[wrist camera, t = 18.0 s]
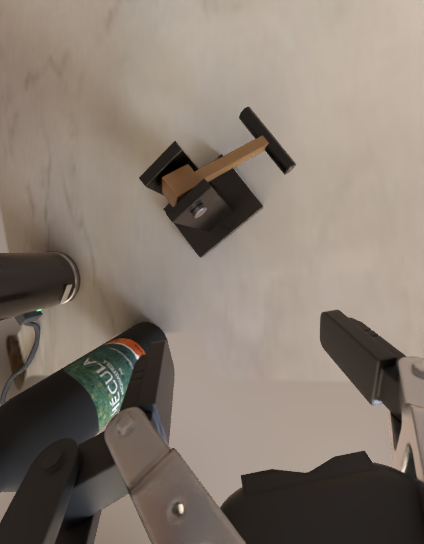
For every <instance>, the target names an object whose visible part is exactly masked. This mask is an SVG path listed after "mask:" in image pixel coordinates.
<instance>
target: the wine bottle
mask: <svg viewBox="0 0 424 544" xmlns="http://www.w3.org/2000/svg"><path fill="white" fill-rule="evenodd" d="M163 340H167V338H166V336H165V334H164V333H163V331H162V330H161V329H160V328H159V327H157V326H156V325H154V324H151V323H147V322H146V323H139V324H137V325H135V326H133V327H132V328H130V329H128V330H127V331H125V332H123V333H121V334H120V335H118V336H116V337H115V338H113V339H111V340H110V341H108V342H106V343H105V344H103V345H101V346H99V347H98V348H96V349H94V350H93V351H91V352H89V353H88V354H86V355H84V356H83V357H81V358H79V359H77V360H76V361H74V362H72V363H71V364H69V365H67V366H66V367H64V368H62V369H61V370H59V371H57V372H55V373H54V374H52V375H50V376H49V377H47V378H46V379H44V380H42V381H40V382H39V383H37V384H35V385H33V386H32V387H30V388H28V389H27V390H25V391H23V392H22V393H20V394H18V395H16V396H15V397H13V398H11V399H10V400H9V401H7V402H6V403H5V404H3V405H2V406H1V407H0V493H1V492H17V490H18V488H19V486H20V485H21V483H22V481H23V479H24V477H25V475H26V473H27V471H28V470H29V468H30V466H31V464H32V463H33V461H34V460H35V459H36V457H37V456H38V455H39V454H40V453H41V452H42V451H43V450H44V449H45V448H47V447H48V446H49V445H51V444H52V443H54V442H56V441H58V440H61V439H65V438H71V439H73V440H75V441H76V443H77V444H81V443H83V442H85V441H87V440H89V439H91V438H93V437H94V436H95V435H96V434H97V433H98V432H99V431H100V430H101V429H102V427H104V425H105V424H106V423H107V422H108V421H109V420H110V419H111V418H112V417H113V416H114V415H115V413H116V412H117V411H118V410H119V409H120V408H121V405H122V402H123V399H124V396H125V393H126V389H127V386H128V383H129V382H130V377H131V374H132V371H133V367H134V364H135V362H136V361H137V360H138V359H139V357H140V356H141V355H144V354H148V353H149V349H150V345H151V343H152V342H157V341H163ZM167 342H168V341H167Z"/></svg>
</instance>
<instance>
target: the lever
mask: <svg viewBox="0 0 424 544" xmlns="http://www.w3.org/2000/svg"><path fill="white" fill-rule="evenodd" d="M239 119H240V120H241V121H242V123H243V124H244V125H245V126H246V128H247V129H248V130H249V131H250V132H251V134H252V135H253V136H254V137H255V140H253V141H251V142H249V143H247V144H245V145H244V146H242V147H240V148H238V149H236V150H234V151H232V152H230V153H228V154H227V155H225V156H223V157H221V158H219V159H217V160H215V161H213V162H212V163H210V164H208V165H206V166H204V167H202V168H200V169H198V170H197V171H195V172H194V171H193V170H192V168H191V167H190V166H189V164H187V165H185V166H183V167H181V168H179V169H177V170H175V171H173V172H171V173H169V174H167V175H165V176H163V177H162V193H163V195H164V196H165V197H166V199H167V200H168V201H169V203H170V204H171V205H172V207H174V206H175V205H176V204H177V203H178V202H179V201H180V200H181V199H182V198H183V197H184V196H186V195H187V194H188V193H189V192H190V191H191V190H192V189H193V188H194V187H195V186H196V185H197V184H198V183H199V182H201V181H202V180H203V179H205V180H206V181H207V182H209V181H211V180H212V179H214V178H216V177H218V176H220V175H221V174H223V173H225V172H227V171H228V170H230V169H232V168H234V167H236V166H237V165H239V164H241V163H243V162H244V161H246V160H248V159H250V158H252V157H253V156H255V155H257V154H259V153H260V152H262V151H264V150H265V151H266V152H267V154H268V155H269V156H270V157H271V159H272V160H273V161H274V162H275V164H276V165H277V166H278V167H279V168H280V170H281V171H282V172H283V173H284V174H287V173H289V172H290V171H291V170H292V169H293V168H294V167H295V165H296V164H295V162H294V161H293V160H292V159H291V157H290V156H289V155H288V154H287V153H286V151H285V150H284V149H283V148H282V146H281V145H280V144H279V143H278V141H277V140H276V139H275V138H274V137H273V135H272V134H271V133H270V132H269V130H268V129H267V128H266V127H265V125H264V124H263V123H262V122H261V121H260V119H259V118H258V117H257V116H256V114H255V113H254V112H253V111H252V109H251V108H250V107H246V108H245V109H244V110H243V111H242V112H241V114H240V116H239Z"/></svg>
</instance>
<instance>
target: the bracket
mask: <svg viewBox="0 0 424 544" xmlns="http://www.w3.org/2000/svg"><path fill="white" fill-rule="evenodd" d="M221 157H223V155H222V154H221V155H220V156H219V157H218V158H217V159H219V158H221ZM217 159H216V160H217ZM187 164H189V166H190V167H191V168H192V170H193V171H194V172H195V171H197V170H198V169H199V168H198V166H197V165H196V164H195V163H194V162H193V161H192V160H191V158H190V157H189V156H188V155H187V154H186V153H185V151H184V150H183V149H182V148H181V147H180V146H179V145H178V143H177V142H176V141H174V142H173V143H172V144H171V145H170V146H169V148H168V149H167V150H166V151H165V152H164V153H163V154H162V155H161V156H160V157H159V158H158V159H157V160H156V161H155V162H154V163H153V164H152V165H151V166H150V167H149V168H148V169H147V170H146V171H145V172H144V173H143V174H142V175H141V176H140V177H139V179H140V180H141V181H142V183H143V184H144V185H145V186H146V187H148V188H150V189H152V190H154V191H156V192H158V193H160V194H162V195H163V193H162V177H163V176H165V175H167V174H169V173H171V172H173V171H175V170H177V169H179V168H181V167H183V166H185V165H187ZM262 208H263V206H262V205H261V203H260V202H259V201H258V200H257V198H256V197H255V196H254V195H253V193H252V192H251V191H250V189H249V188H248V187H247V186H246V184H245V183H244V182H243V181H242V179H241V178H240V177H239V176H238V174H237V173H236V172H235V170H234V169H233V168H232V169H230V170H228V171H227V172H225V173H223V174H221V175H220V176H218V177H216V178H214V179H212V180H211V181H209V182H207V181H206V180H205V179H203V180H202V181H201V182H199V183H198V184H197V185H196V186H195V187H194V188H193V189H192V190H191V191H190V192H189V193H188V194H187V195H186V196H184V197H183V198H182V199H181V200H180V201H179V202H178V203H177V204H176V205H175V206H174V207H172V205H171V204H170V203H169V204H168V205H167V206H166V207H165V208H164V210H165V212H166V214H167V216H168V217H169V218H170V220H171V221H172V222H173V223H174V224H175V225H176V226H177V228H178V229H179V230H180V232H181V233H182V234H183V236H184V237H185V238H186V240H187V241H188V242H189V244H190V245H191V246H192V248H193V249H194V250H195V252H196V253H197V254H198V255H199V257H200V258H201V257H203V256H205V255H206V254H207V253H208V252H210V251H211V250H212V249H213V248H214V247H216V246H217V245H218V244H219V243H221V242H222V241H223V240H224V239H226V238H227V237H228V236H229V235H230V234H232V233H233V232H234V231H235V230H237V229H238V228H239V227H240V226H242V225H243V224H244V223H245V222H246V221H248V220H249V219H250V218H251V217H253V216H254V215H255V214H256V213H257V212H259V211H260V210H261V209H262Z"/></svg>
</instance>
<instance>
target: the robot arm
mask: <svg viewBox="0 0 424 544" xmlns="http://www.w3.org/2000/svg"><path fill="white" fill-rule="evenodd" d="M78 288H79V274H78V270H77V268H76V266H75V264H74V262H73V261H72V260H71V259H70V258H69V257H68V256H67V255H65V254H63V253H61V252H43V253H0V320H4V319H7V318H11V317H15V319H16V320H17V322H18V323H19V325H23V324H24V325H26V326H32V327H34V329H35V342H34V345H33V348H32V350H31V352H30V355H29V357H28V359H27V361H26V363H25V364H24V365H23V366H22V367H21V368H20V369H19V370H18V371H16V372H15V373H14V374H12V375H11V377H10V378H9V379H8V381H7V383H6V385H5V387H4V389H3V391H2V394H1V398H0V403H1V405H3V404H5V403H6V402H5V397H6V394H7V391H8V389H9V387H10V384H11V382H12V381H13V379H14V378H15V377H16V376H17V375H19V374H20V373H21V372H23V371H24V370H25V369H26V368H27V367H28V366H29V364H30V363H31V361H32V359H33V357H34V355H35V353H36V350H37V348H38V344H39V338H40V328H39V325H38V324H37V323H35V322H32V321H35V320H37V319H38V318H39V317H40V316H41V315H42V313H41V311H40V310H41V309H44V308H48V307H51V306H55V305H61V304H65V303H67V302H69V301H71V300H72V299H73V298H74V297H75V295H76V294H77V291H78ZM320 341H321V344H322V347H323V348H324V350H325V351H326V352H327V353H328V354H329V356H330V357H331V358H332V359H333V360H334V362H335V363H336V364H337V365H338V366H339V368H340V369H341V370H342V371H343V372H344V373H345V375H346V376H347V377H348V378H349V379H350V381H351V382H352V383H353V384H354V385H355V386H356V388H357V389H358V390H359V391H360V392H361V394H362V395H363V396H364V397H365V398H366V399H367V401H368V402H369V403H370V404H371V405H378V404H384V405H385V406H386V407H387V408H388V409H389V411H388V419H389V430H390V440H391V451H392V467H389V466H386V465H382V464H378V463H372V461H371V460H370V458H369V457H368V455H367V454H366V452H365V451H361V452H356V453H351V454H346V455H341V456H336V457H333V458H332V459H330V460H328V461H327V462H325V463H323V464H322V465H320V466H319V467H317V468H315V469H314V470H312V471H310V472H308V473H301V472H291V471H283V470H273V469H271V470H266V471H260V472H255V473H251V474H246V475H241V480H242V488H240V489H238V490H237V491H235V492H234V493H233V494H232V495H230V496H229V497H228V499H227V500H226V501H225V502H224V503H223V504H222V506H221V507H220V508H219V507H218V505H217V504H216V502H215V501H214V500H213V498H212V497H211V496H210V494H209V493H208V492H207V490H206V489H205V488H204V486H203V485H202V484H201V482H200V481H199V479H198V478H197V477H196V475H195V474H194V473H193V471H192V470H191V469H190V467H189V466H188V465H187V464H186V462H185V461H184V460H183V458H182V457H181V455H180V454H179V453H178V452H177V450H175V449H174V448H172V449H170V448H169V446H168V445H169V435H170V423H171V411H172V399H173V387H174V365H173V361H172V357H171V353H170V349H169V345H168V342H167V340H163V341H157V342H152V343H151V345H150V349H149V353H148V354H144V355H141V356H140V357H139V359H138V360H137V361H136V362H135V364H134V367H133V371H132V374H131V377H130V382H129V383H128V386H127V389H126V393H125V396H124V399H123V402H122V405H121V408H120V411H119V413H118V414H116V415H115V416H114V417H113V418H112V419H111V420H110V422H109V423H108V425H107V427H106V429H105V431H104V432H102V433H100V434H99V435H97V436H95V437H93V438H91V439H89V440H87V441H85V442H83V443H81V444H77V443H76V441H75V440H73V439H71V438H65V439H61V440H58V441H56V442H54V443H52V444H51V445H49V446H48V447H47V448H45V449H44V450H43V451H42V452H41V453H40V454H39V455H38V456H37V457H36V459H35V460H34V461H33V463H32V464H31V466H30V468H29V470H28V471H27V473H26V475H25V477H24V479H23V481H22V483H21V485H20V486H19V488H18V490H17V492H16V494H15V496H14V498H13V500H12V502H11V503H10V505H9V507H8V509H7V511H6V513H5V515H4V517H3V519H2V520H1V523H0V544H94V540H95V536H96V532H97V527H98V523H99V519H100V515H101V510H102V509H104V508H105V507H107V506H109V505H110V504H112V503H114V502H115V501H117V500H119V499H120V498H122V497H124V496H125V495H127V494H130V497H131V499H132V501H133V503H134V506H135V508H136V510H137V512H138V515H139V517H140V519H141V521H142V523H143V526H144V528H145V530H146V532H147V534H148V537H149V539H150V541H151V543H152V544H424V359H423V358H419V357H412V356H409V357H406V356H405V355H404V354H402V353H401V352H400V351H399V350H397V349H396V348H395V347H393V346H392V345H391V344H389V343H388V342H387V341H386V340H384V339H383V338H382V337H380V336H378V334H376V333H375V332H374V331H373V330H372V331H371V329H370V328H369V327H367V326H366V325H365V324H363V323H362V322H360V321H357V320H355V319H353V318H348V317H347V316H346V315H344V314H343V313H342V312H341V311H339V310H333V311H327V312H322V313H321V320H320Z"/></svg>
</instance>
